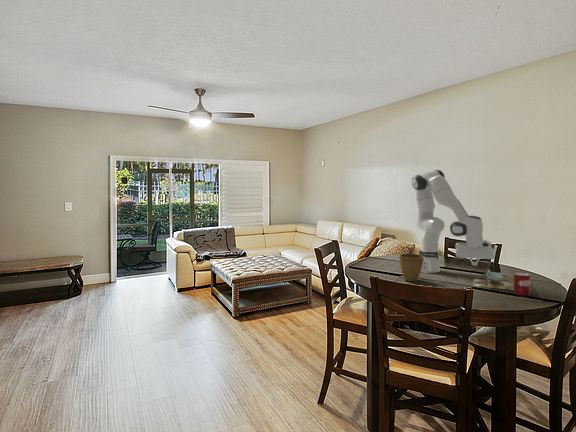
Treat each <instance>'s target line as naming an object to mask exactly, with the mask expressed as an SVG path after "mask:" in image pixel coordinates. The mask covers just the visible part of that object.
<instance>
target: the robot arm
mask: <svg viewBox="0 0 576 432" xmlns="http://www.w3.org/2000/svg"><path fill="white" fill-rule="evenodd" d="M411 186H412V188H413V189H414V192H415V199H416V203H417V209H418V219H417V221H416V225H417V227H418V228H419V229H421V230H422V231H424V236H423V238H422V239H421V249H419V250H418V254H417V255H422V256H424V259H423V264H422V268H421V271H420V273H425V274H431V273H439V272H441V268H440V264H439V262H440V261H439V259H440V251H439V241H440V237H441V233H442V232H443V231H444V230H445V222H444V220H442V218H439V217H438V216H437V217H436V216H434V210H435V208H436V205H435V201H436V202H437V203H438V205H441V206H443V207H444V206H445V207H447V208H449V209H450V210H452V212H454V215H455V216H456V218H457V221H453V222H452V223H451V224H450V227H449V230H450V233H451V234H452V235H453V236H455V237H465V242H461V241H459V242H457V243H455V246H454V247H455V257H457V258H463V259H464V258H465V259H466V258H467V259H469V261H470V262H471V266H478V263H479V262H480V259H482V260H493V259H495V253H494V248H493V247H492V242H490V241H488V240H484V238H483V231H484V229H483V228H484V226H483V219H482V218H481V217H480V216H477V215H469V214H468V212H467V211H466V210H465V208H464V206H463V205H462V203H461V202H460V200H459V199H458V198H457V196H456V195H455V193H454V192H453V189H452V188H451V185H450V184H449V182H448V181H447V180H446V178H445V173H444V172H443V171H442V170H440V169H435V170H430V171H426V172H423V173H421V174H417V175H415V176H413V177H412V179H411ZM473 259H476V261H473Z"/></svg>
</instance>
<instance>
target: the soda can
mask: <svg viewBox="0 0 576 432" xmlns="http://www.w3.org/2000/svg"><path fill="white" fill-rule="evenodd" d="M513 276H514V277H513V281H514V282H513V283H514V290H513V294H515V296H516V297H517V298H522V299H523V298H524V299H526V298H527V299H528V298H529V297H528V296H530V295H531V275H530V273H527V272H526V273H525V272H515V273H514V274H513Z"/></svg>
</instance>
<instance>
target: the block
mask: <svg viewBox="0 0 576 432" xmlns="http://www.w3.org/2000/svg"><path fill="white" fill-rule="evenodd" d="M489 281H490V284H491V285H499V282H500V281H495V280H489Z"/></svg>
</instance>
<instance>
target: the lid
mask: <svg viewBox="0 0 576 432" xmlns="http://www.w3.org/2000/svg"><path fill="white" fill-rule="evenodd" d="M486 273H487V278H491V279H501V280H504V276H503V275H504V274H503V272H494V271H491V269H490V268H487V271H486Z"/></svg>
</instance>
